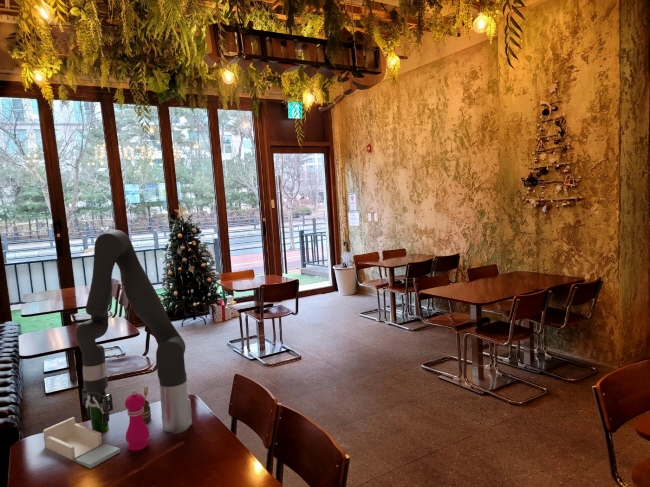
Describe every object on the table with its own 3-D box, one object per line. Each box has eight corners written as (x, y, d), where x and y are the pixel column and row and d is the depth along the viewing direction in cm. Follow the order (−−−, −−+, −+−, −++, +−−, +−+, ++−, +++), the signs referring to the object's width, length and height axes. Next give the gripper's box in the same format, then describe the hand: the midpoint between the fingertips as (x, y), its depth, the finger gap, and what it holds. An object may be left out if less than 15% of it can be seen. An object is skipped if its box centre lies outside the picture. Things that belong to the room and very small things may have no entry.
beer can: (93, 438, 154) (90, 405, 153) (91, 432, 158) (88, 400, 157) (110, 433, 157) (107, 401, 155) (107, 427, 161) (105, 396, 160)
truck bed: (74, 435, 156) (73, 417, 155) (102, 447, 148) (100, 427, 147) (45, 450, 147) (43, 430, 147) (72, 462, 139) (70, 441, 139)
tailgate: (103, 442, 148) (120, 447, 143) (103, 447, 148) (121, 452, 143) (72, 458, 139) (89, 464, 134) (72, 463, 139) (90, 469, 134)
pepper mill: (122, 448, 146) (118, 390, 145) (144, 439, 152) (139, 383, 150) (132, 456, 142) (127, 396, 140) (154, 447, 147) (149, 389, 145)
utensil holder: (130, 423, 163) (128, 392, 162) (142, 415, 169) (140, 385, 168) (143, 425, 162) (141, 394, 160) (155, 417, 167) (153, 387, 166)
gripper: (117, 375, 155) (120, 419, 156) (93, 368, 162) (96, 411, 163) (97, 383, 148) (100, 429, 150) (73, 375, 156) (76, 419, 157)
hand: (98, 419), depth 157 cm, fingers open, 8 cm apart
